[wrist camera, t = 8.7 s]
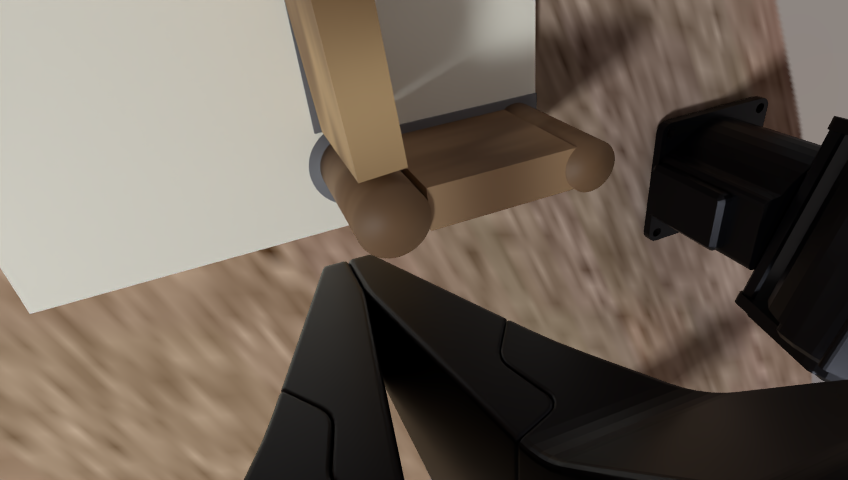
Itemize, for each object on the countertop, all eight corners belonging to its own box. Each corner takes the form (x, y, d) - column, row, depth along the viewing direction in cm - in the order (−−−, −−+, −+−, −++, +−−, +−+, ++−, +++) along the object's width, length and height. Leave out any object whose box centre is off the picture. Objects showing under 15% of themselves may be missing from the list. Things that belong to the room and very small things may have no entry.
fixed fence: (533, 90, 21) (617, 126, 17) (533, 146, 23) (611, 192, 18) (313, 141, 19) (348, 197, 15) (326, 200, 20) (362, 267, 16)
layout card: (528, -383, 15) (538, -392, 14) (530, 170, 24) (536, 174, 23) (-421, -413, 10) (-448, -429, 9) (32, 307, 19) (29, 315, 18)
